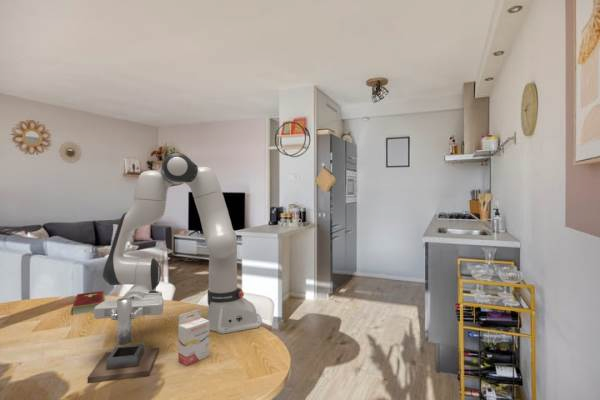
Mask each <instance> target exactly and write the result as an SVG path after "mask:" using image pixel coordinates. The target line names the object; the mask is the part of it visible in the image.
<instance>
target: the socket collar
mask: <svg viewBox="0 0 600 400" xmlns="http://www.w3.org/2000/svg"><path fill="white" fill-rule="evenodd" d="M144 349H145V343H142V344H141V343H139V344H138V343H137V344H129V345H128V344H126V345H118V346H115V347H114V348H113V349H112V351H110V352H111V354H110V355H109V357H108V358H107V359H106V370H110V369H119V368H128V367H137V366H138V365H139V363H140V361H141V359H142V357H143V354H144Z"/></svg>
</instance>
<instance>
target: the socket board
mask: <svg viewBox="0 0 600 400" xmlns="http://www.w3.org/2000/svg"><path fill="white" fill-rule="evenodd" d="M159 349H160V348H159V346H156V347H147V348H146V347H144V354H143V357H142V359H141V361H140V363H139V365H138V366H137V367H128V368H119V369H110V370H106V359H107V358H108V357H109V355H110V354H111V352H112V351H108V352H107V351H106V352H105V353H104V354H103V356H102V357H101V358H100V360H99V361H98V363H97V364H96V365H95V367H93V369H92V371H91V372H90V374H89V375H88V377H87V379H86V380H87V383H88V384H91V383H100V382H109V381H118V380H125V379H133V378H142V377H143V378H144V377H149V376H150V374H151V372H152V370H153V367H154V364H155V362H156V359H157V357H158V355H159V352H160V350H159Z"/></svg>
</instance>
